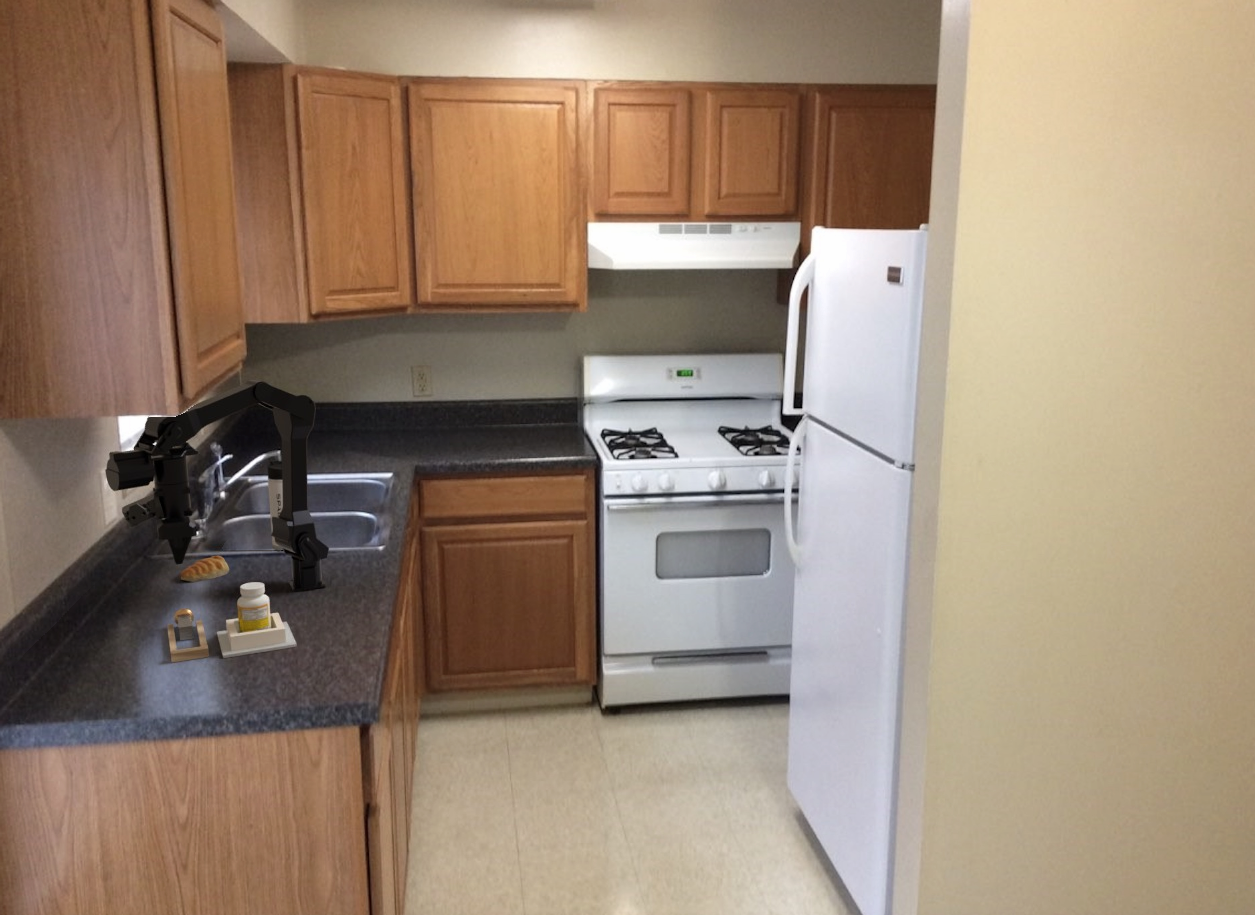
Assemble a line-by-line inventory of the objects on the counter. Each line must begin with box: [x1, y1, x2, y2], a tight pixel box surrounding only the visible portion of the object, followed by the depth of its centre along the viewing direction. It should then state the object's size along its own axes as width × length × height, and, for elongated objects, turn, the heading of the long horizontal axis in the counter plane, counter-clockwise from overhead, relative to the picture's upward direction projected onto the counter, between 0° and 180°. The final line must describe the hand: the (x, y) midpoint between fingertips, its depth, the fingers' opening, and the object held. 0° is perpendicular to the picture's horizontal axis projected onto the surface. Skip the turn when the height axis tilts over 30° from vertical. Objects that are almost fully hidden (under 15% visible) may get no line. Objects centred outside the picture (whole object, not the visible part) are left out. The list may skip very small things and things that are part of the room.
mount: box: [166, 619, 210, 663], centre depth 180 cm, size 16×6×2 cm, turn 26°
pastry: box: [180, 555, 230, 583], centre depth 216 cm, size 9×7×4 cm
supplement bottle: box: [236, 581, 271, 633], centre depth 180 cm, size 5×5×10 cm
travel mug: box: [266, 459, 283, 551], centre depth 235 cm, size 6×7×20 cm
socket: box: [216, 612, 298, 659], centre depth 181 cm, size 12×12×3 cm
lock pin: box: [173, 608, 195, 641], centre depth 185 cm, size 8×3×3 cm, turn 26°
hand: (179, 563), depth 190 cm, fingers closed
